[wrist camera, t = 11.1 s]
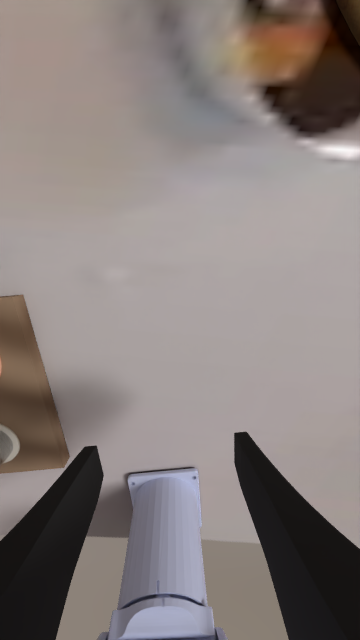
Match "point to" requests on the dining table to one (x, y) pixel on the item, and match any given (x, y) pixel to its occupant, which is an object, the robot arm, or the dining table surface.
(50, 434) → the board
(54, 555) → the robot arm
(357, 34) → the wooden plate with food
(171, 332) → the dining table surface
